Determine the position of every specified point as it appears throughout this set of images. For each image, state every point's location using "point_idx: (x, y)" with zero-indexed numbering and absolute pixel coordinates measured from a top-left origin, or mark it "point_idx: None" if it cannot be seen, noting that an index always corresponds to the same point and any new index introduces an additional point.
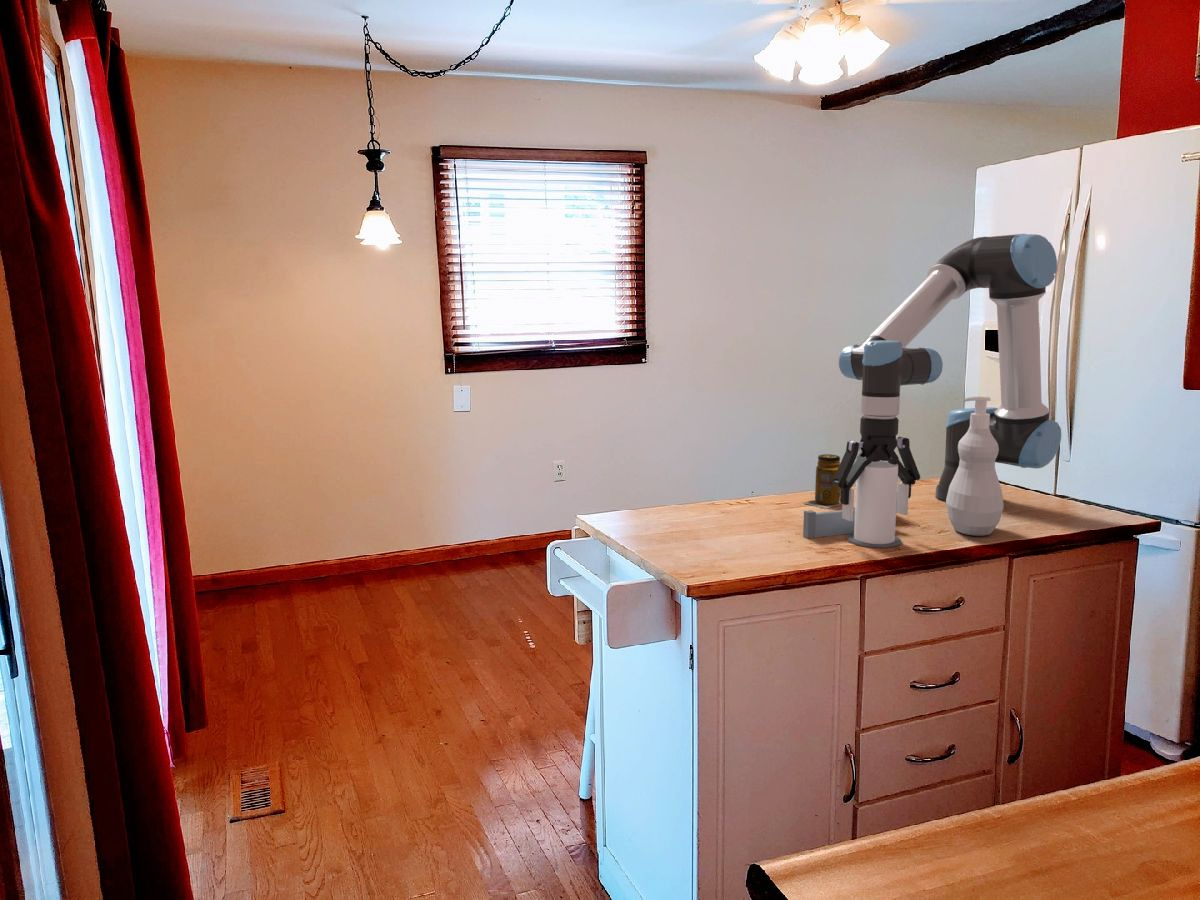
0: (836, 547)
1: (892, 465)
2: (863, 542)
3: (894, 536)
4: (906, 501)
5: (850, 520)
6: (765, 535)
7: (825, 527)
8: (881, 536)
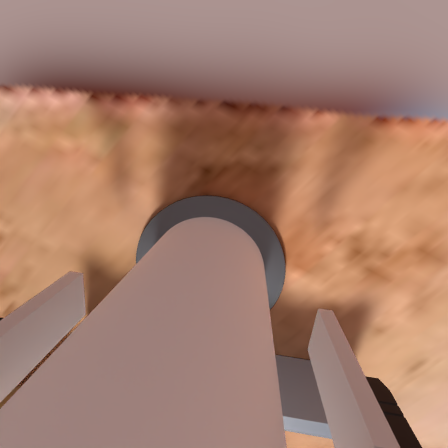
0: (352, 271)
1: None
2: (263, 258)
3: (170, 230)
4: (36, 303)
5: (330, 311)
6: (417, 427)
7: (295, 377)
8: (228, 229)
